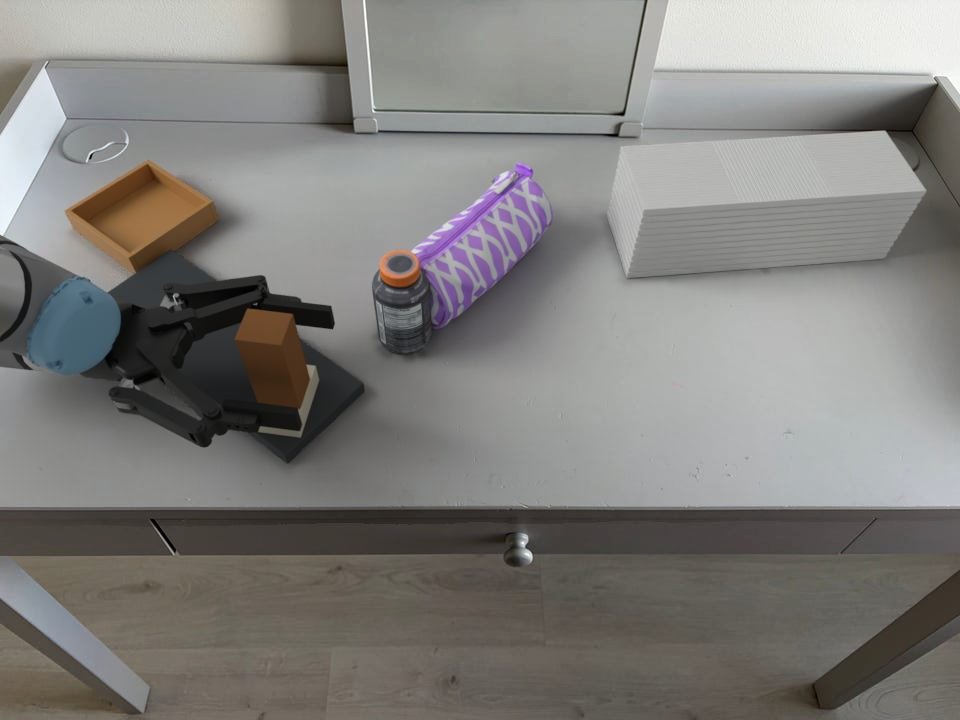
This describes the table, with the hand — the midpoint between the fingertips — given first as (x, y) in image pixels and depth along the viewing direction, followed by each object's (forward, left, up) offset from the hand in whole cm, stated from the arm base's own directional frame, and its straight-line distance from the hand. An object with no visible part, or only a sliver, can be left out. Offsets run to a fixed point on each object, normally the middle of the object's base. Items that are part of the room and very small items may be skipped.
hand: (316, 366), depth 72 cm
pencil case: (+25, +1, -9) cm, 27 cm away
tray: (+6, +37, -9) cm, 39 cm away
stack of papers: (+51, -21, -9) cm, 56 cm away
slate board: (-1, +15, -9) cm, 17 cm away
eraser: (-2, +3, -7) cm, 8 cm away
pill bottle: (+13, +1, -9) cm, 16 cm away
